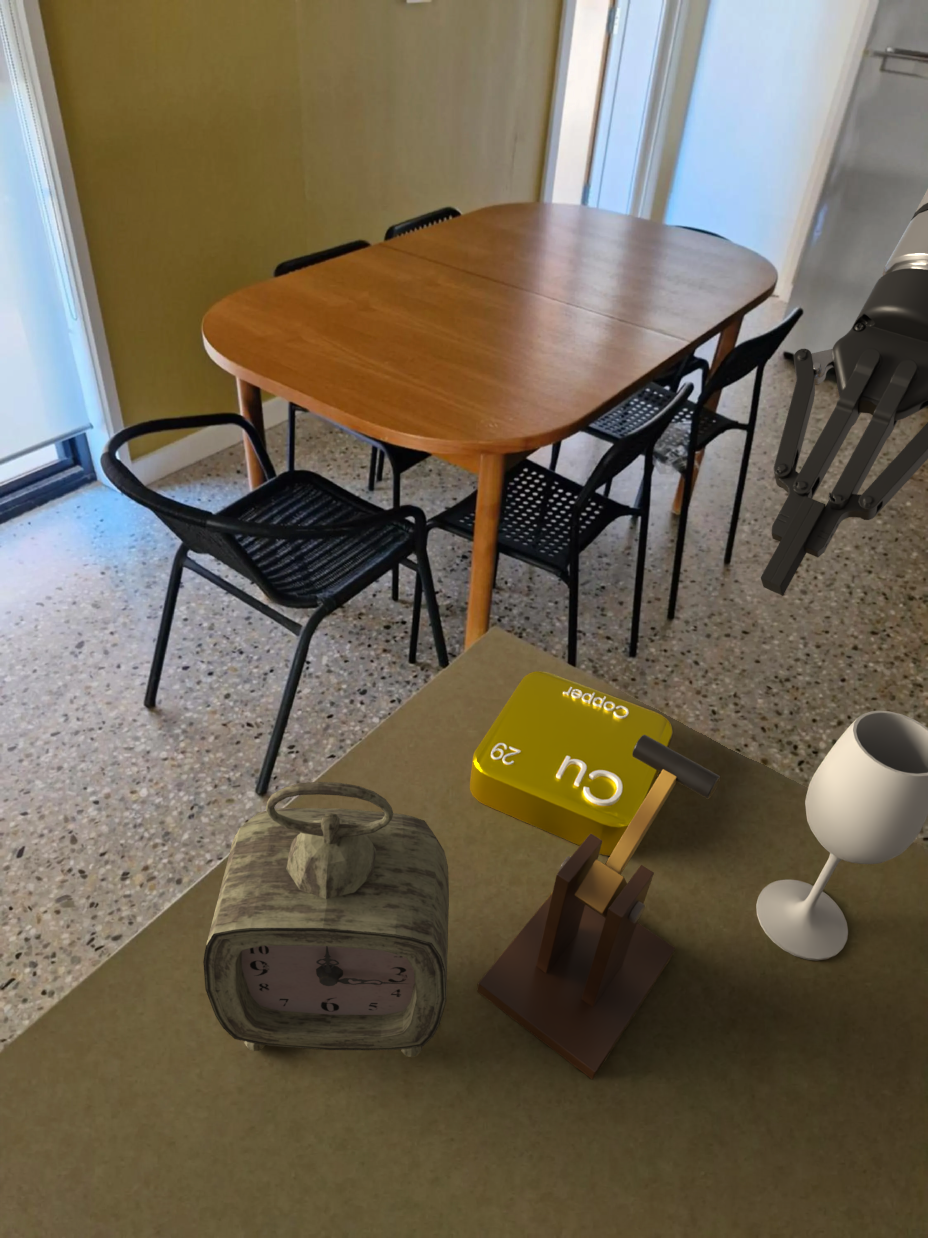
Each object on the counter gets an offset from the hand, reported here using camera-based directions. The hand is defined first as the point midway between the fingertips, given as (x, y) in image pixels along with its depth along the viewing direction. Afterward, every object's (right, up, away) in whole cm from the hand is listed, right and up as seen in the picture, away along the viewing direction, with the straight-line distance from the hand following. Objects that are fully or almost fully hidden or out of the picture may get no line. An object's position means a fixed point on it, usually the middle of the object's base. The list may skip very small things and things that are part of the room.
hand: (772, 586), depth 63 cm
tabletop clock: (-31, -30, +1) cm, 43 cm away
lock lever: (-10, -17, -1) cm, 20 cm away
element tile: (-12, -17, +20) cm, 29 cm away
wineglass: (+5, -27, +9) cm, 29 cm away
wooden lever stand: (-13, -29, +4) cm, 32 cm away
